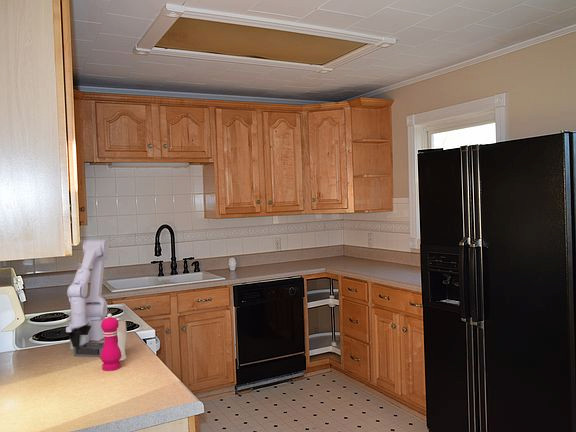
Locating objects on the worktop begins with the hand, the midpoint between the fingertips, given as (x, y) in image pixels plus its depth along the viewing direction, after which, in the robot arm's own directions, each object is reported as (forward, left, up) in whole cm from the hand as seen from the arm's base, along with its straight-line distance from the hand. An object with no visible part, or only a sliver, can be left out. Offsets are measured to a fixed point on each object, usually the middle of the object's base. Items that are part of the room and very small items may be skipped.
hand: (79, 345), depth 209 cm
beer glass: (+12, +24, -2) cm, 27 cm away
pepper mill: (+22, +27, -2) cm, 35 cm away
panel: (0, 0, -2) cm, 2 cm away
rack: (+6, +10, -1) cm, 11 cm away
